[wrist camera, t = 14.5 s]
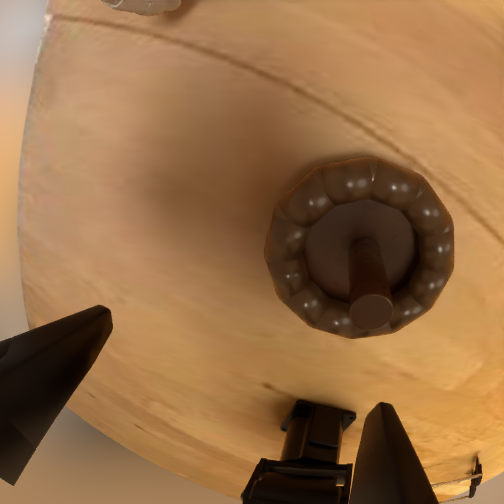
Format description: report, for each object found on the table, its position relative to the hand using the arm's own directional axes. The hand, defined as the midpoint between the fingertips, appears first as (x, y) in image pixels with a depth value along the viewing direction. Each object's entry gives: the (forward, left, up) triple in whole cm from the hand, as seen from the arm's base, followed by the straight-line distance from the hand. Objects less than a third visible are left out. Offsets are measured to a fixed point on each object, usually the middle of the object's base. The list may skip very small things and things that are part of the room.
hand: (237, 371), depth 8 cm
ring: (0, -4, -10) cm, 11 cm away
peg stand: (0, -5, -12) cm, 13 cm away
